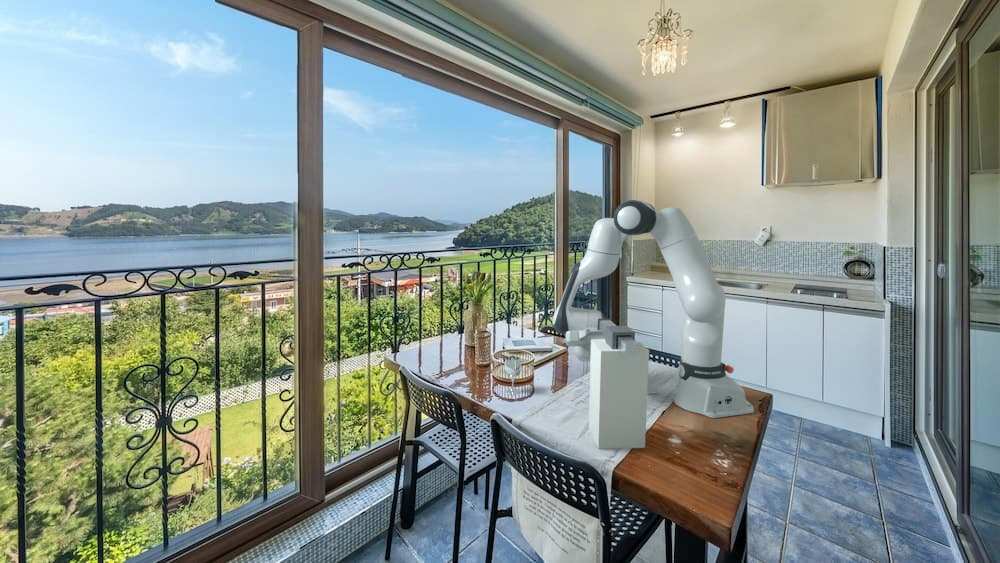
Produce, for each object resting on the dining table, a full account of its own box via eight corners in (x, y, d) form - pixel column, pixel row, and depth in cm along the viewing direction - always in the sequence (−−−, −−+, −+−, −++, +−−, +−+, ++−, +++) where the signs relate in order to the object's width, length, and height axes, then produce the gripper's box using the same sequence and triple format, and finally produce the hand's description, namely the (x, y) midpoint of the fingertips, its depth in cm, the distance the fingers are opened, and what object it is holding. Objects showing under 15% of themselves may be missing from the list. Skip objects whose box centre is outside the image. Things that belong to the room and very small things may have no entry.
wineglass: (519, 396, 133) (519, 361, 131) (503, 394, 134) (502, 360, 132) (522, 388, 138) (522, 355, 136) (506, 387, 139) (505, 355, 138)
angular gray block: (608, 329, 117) (608, 318, 116) (638, 356, 93) (638, 343, 93) (597, 329, 117) (597, 318, 116) (624, 356, 93) (625, 343, 93)
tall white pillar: (631, 427, 111) (635, 323, 107) (644, 447, 102) (650, 333, 97) (588, 428, 111) (591, 323, 107) (598, 448, 101) (601, 334, 97)
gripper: (560, 333, 130) (567, 321, 117) (622, 332, 131) (636, 320, 118) (562, 352, 128) (569, 342, 115) (625, 351, 128) (639, 341, 115)
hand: (603, 331), depth 116 cm, fingers open, 8 cm apart
